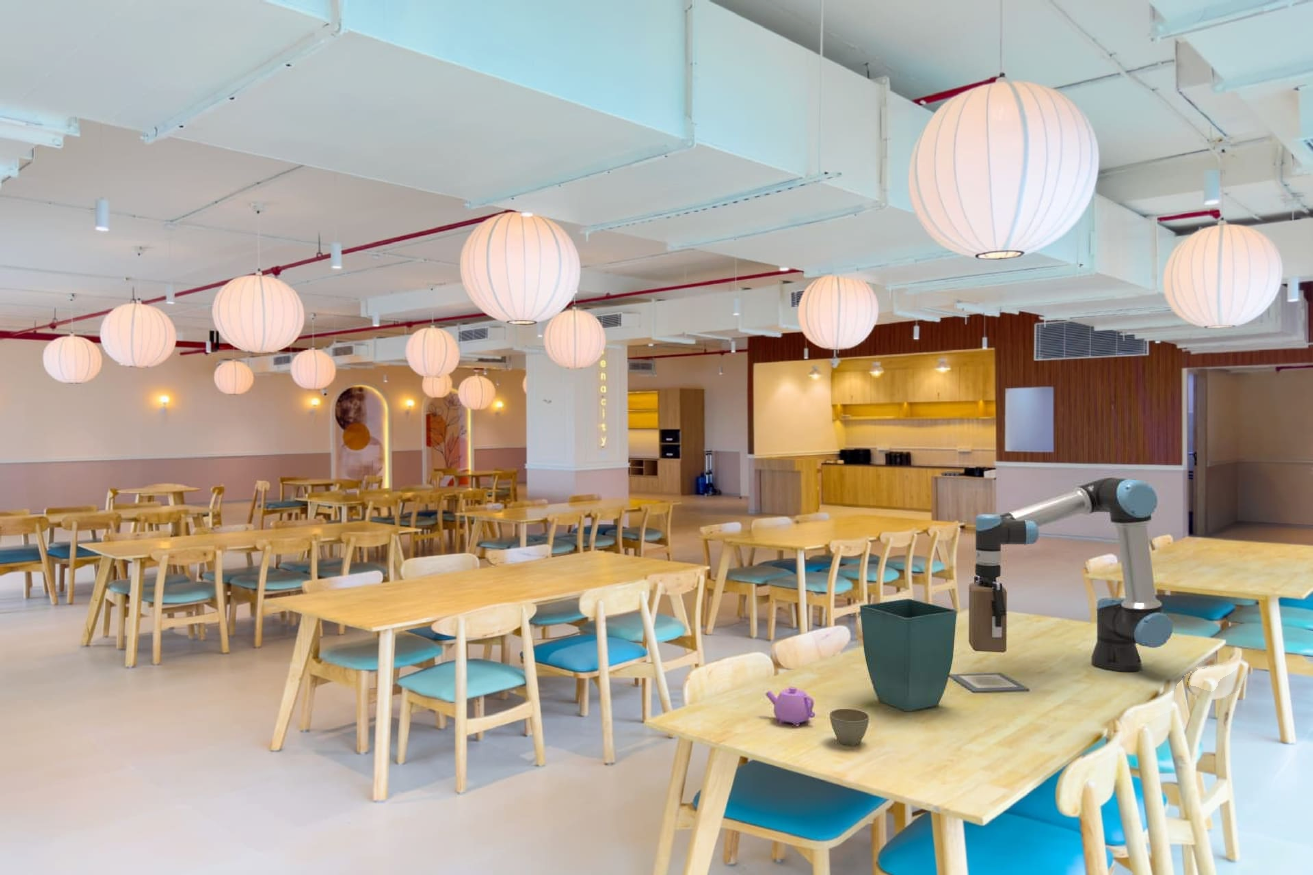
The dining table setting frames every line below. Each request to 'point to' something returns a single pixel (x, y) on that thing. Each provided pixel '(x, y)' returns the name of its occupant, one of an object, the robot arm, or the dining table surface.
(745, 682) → the dining table surface
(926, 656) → the flower pot
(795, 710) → the teapot
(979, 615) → the wooden block
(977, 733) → the dining table surface
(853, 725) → the bowl
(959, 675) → the mat
